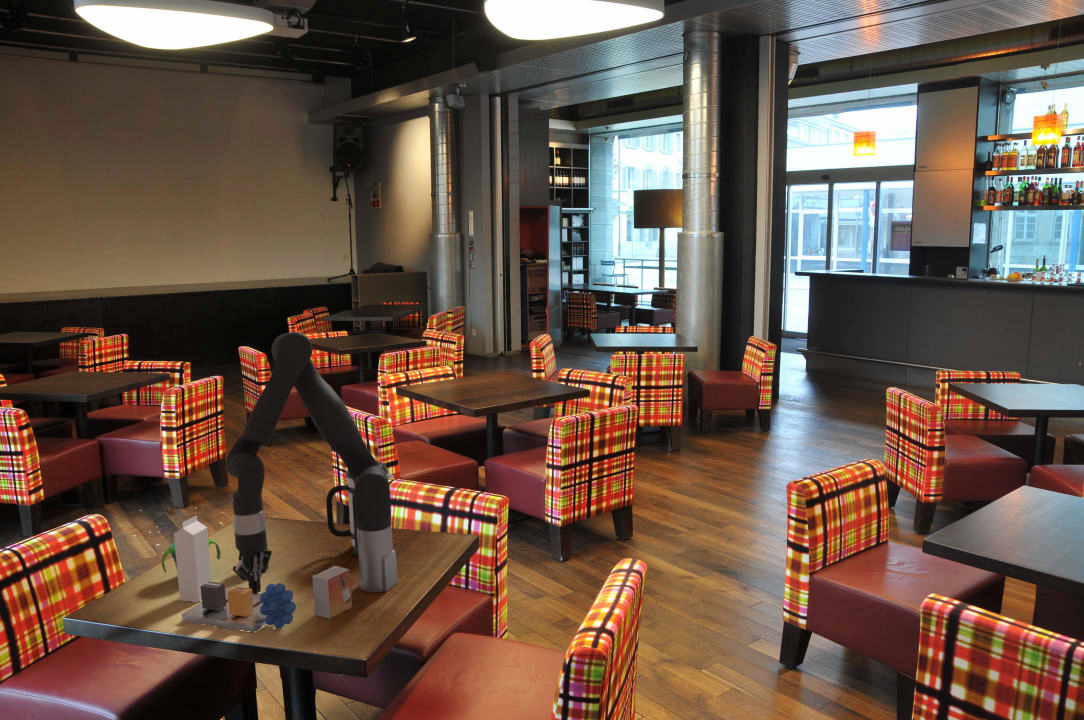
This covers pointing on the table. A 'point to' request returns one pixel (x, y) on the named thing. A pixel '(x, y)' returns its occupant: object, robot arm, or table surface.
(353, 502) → the coffee press
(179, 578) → the milk
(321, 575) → the small box
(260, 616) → the console
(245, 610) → the orange fader
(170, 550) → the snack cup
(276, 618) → the grapes
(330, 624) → the table surface
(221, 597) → the block
